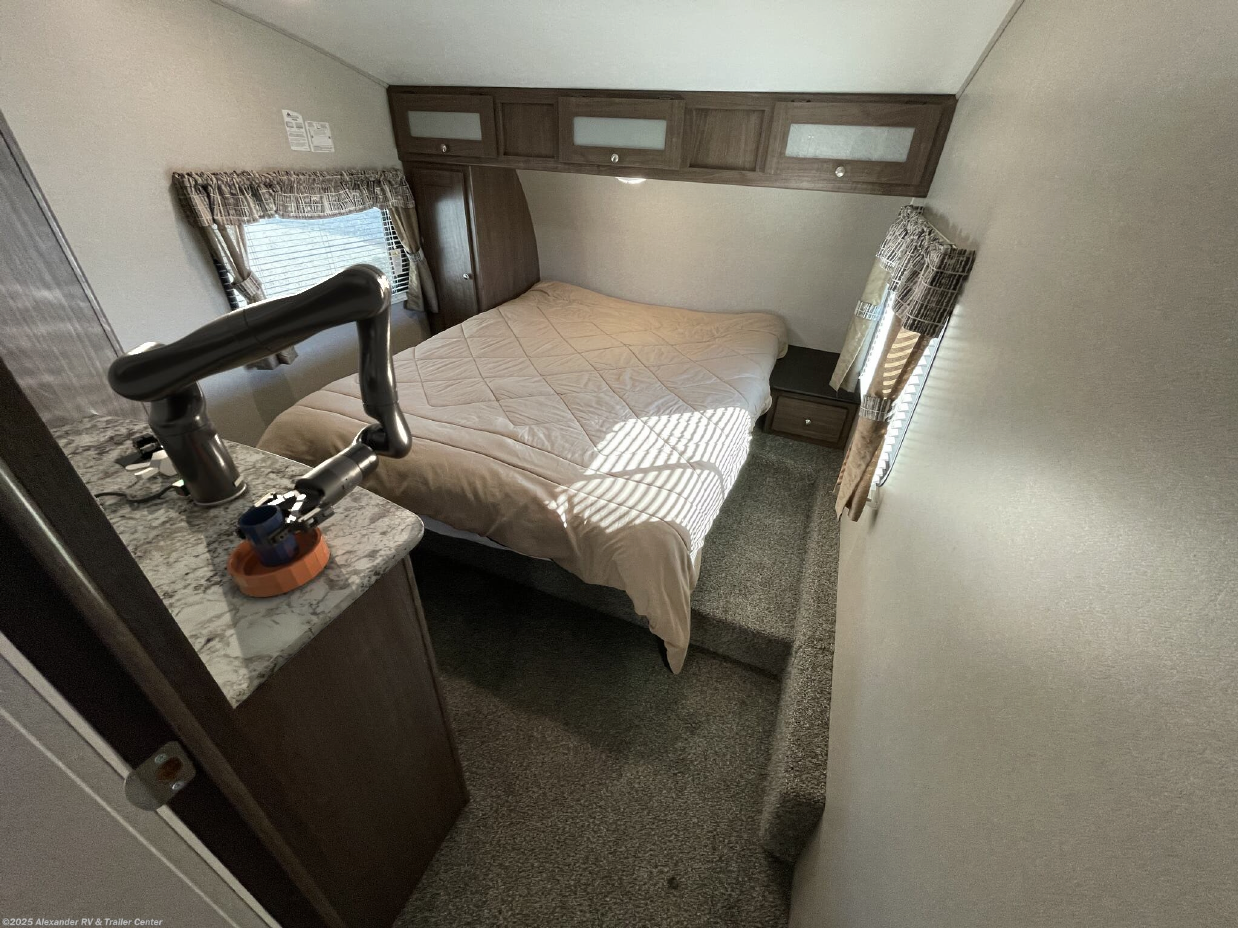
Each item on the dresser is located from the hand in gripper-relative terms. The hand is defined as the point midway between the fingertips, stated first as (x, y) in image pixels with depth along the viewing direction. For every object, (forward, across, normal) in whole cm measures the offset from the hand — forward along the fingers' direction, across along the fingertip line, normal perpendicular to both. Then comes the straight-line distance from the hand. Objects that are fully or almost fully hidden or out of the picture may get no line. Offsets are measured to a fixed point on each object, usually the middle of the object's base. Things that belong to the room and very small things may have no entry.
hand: (253, 538), depth 80 cm
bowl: (-2, 0, +9) cm, 9 cm away
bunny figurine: (-22, -53, +9) cm, 58 cm away
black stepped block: (-26, -68, +9) cm, 74 cm away
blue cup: (-2, 0, +6) cm, 6 cm away
